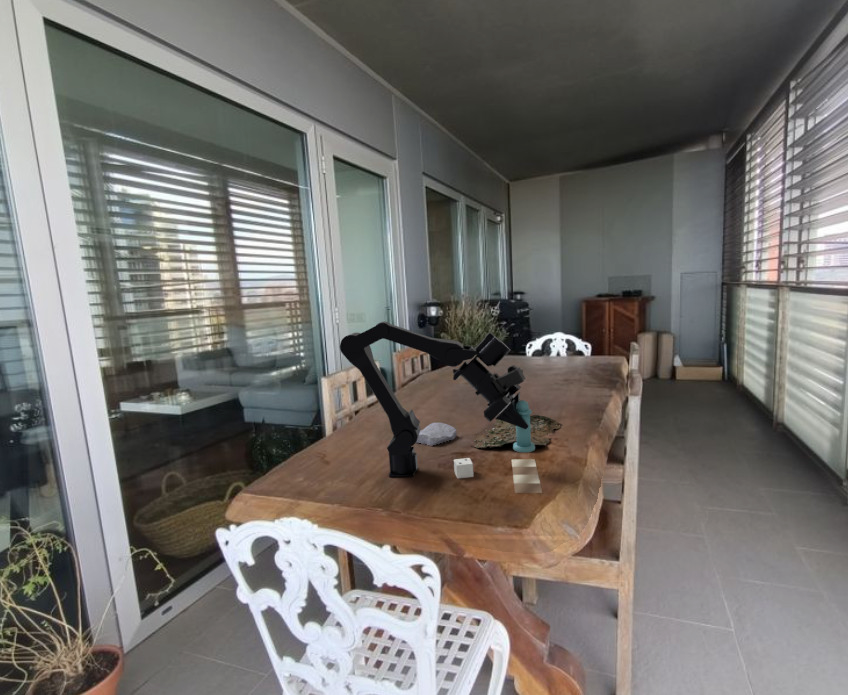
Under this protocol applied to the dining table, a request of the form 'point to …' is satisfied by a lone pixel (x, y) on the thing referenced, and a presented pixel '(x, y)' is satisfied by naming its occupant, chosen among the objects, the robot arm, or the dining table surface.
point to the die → (463, 468)
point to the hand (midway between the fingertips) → (528, 425)
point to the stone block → (436, 434)
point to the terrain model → (507, 432)
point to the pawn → (523, 430)
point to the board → (525, 476)
